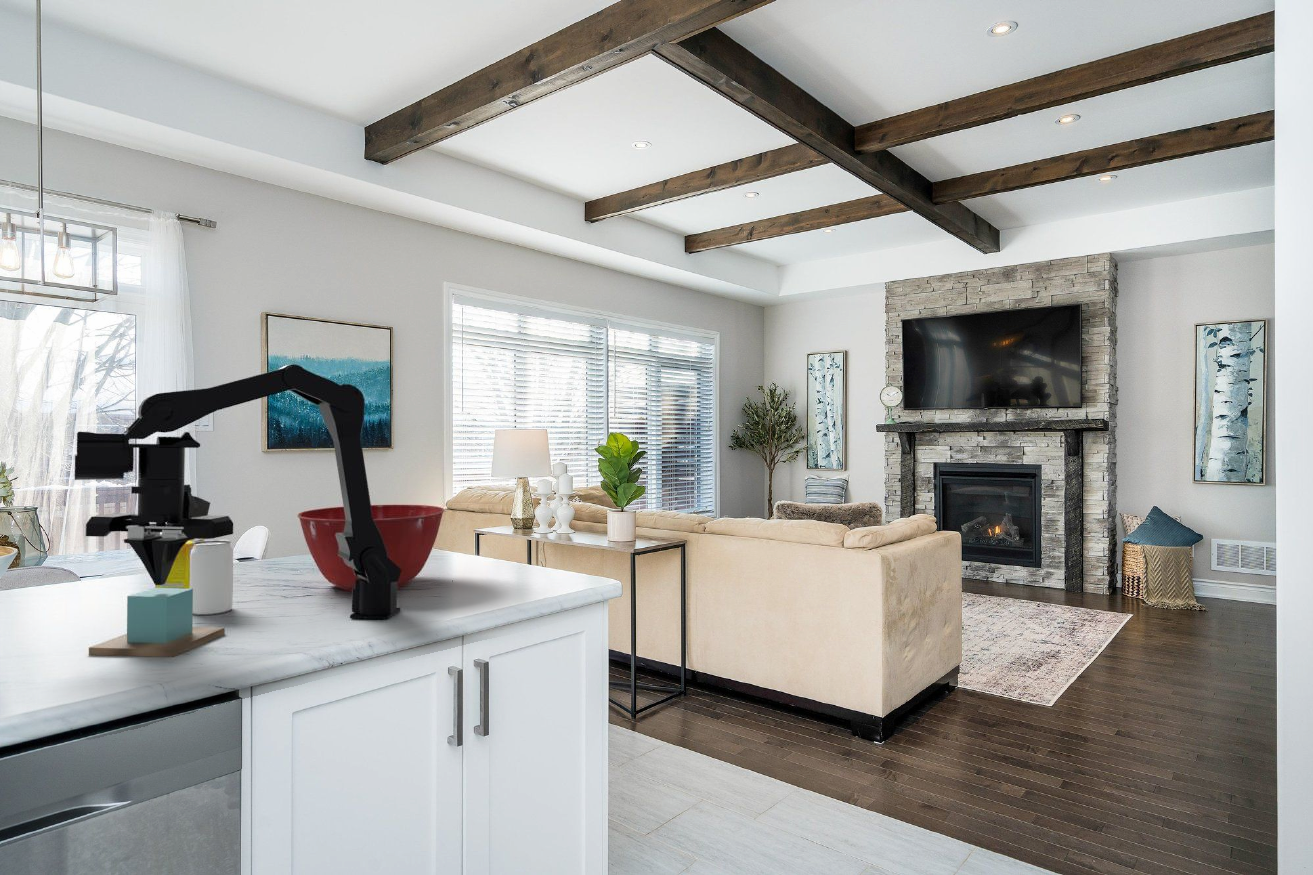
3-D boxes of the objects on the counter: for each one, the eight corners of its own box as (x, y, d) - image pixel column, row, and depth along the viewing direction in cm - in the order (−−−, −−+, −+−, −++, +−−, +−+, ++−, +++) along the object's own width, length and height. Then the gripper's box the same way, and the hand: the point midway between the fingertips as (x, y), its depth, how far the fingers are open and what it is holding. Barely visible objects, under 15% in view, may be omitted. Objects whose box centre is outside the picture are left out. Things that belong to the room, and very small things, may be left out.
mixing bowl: (290, 604, 138) (291, 519, 138) (302, 576, 164) (302, 504, 164) (450, 594, 148) (451, 515, 148) (437, 569, 174) (438, 502, 174)
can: (212, 616, 128) (213, 545, 128) (180, 614, 129) (181, 544, 129) (241, 608, 134) (242, 540, 134) (209, 605, 135) (210, 539, 135)
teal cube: (192, 632, 114) (192, 588, 114) (166, 642, 108) (166, 597, 108) (154, 631, 114) (155, 587, 114) (126, 641, 109) (127, 596, 109)
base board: (224, 634, 117) (224, 627, 117) (172, 656, 105) (172, 649, 105) (149, 632, 118) (149, 625, 118) (88, 654, 106) (88, 647, 106)
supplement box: (171, 596, 143) (172, 538, 143) (205, 596, 143) (205, 538, 143) (153, 603, 137) (154, 543, 137) (188, 603, 137) (189, 543, 137)
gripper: (254, 476, 119) (253, 575, 119) (138, 474, 120) (137, 573, 120) (210, 481, 108) (209, 590, 108) (83, 478, 109) (81, 587, 109)
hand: (160, 584), depth 111 cm, fingers closed
